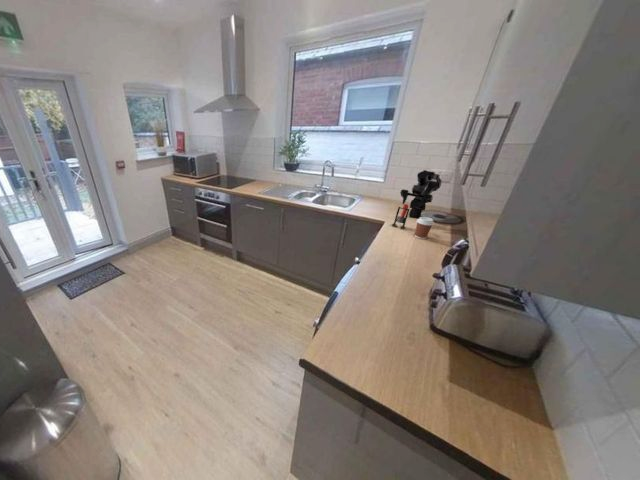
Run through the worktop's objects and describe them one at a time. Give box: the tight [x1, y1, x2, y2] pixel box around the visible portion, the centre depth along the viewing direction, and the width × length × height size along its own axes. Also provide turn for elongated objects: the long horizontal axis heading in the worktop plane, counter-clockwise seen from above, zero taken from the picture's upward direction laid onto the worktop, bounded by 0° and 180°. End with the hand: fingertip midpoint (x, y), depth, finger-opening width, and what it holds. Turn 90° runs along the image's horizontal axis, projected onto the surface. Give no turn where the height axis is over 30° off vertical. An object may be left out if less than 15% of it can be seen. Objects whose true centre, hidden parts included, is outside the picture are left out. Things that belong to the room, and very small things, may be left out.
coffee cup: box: [413, 216, 435, 240], centre depth 157 cm, size 9×9×12 cm
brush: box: [396, 203, 409, 224], centre depth 170 cm, size 6×5×12 cm
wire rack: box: [391, 206, 410, 230], centre depth 170 cm, size 2×8×14 cm, turn 39°
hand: (410, 205), depth 173 cm, fingers open, 9 cm apart
